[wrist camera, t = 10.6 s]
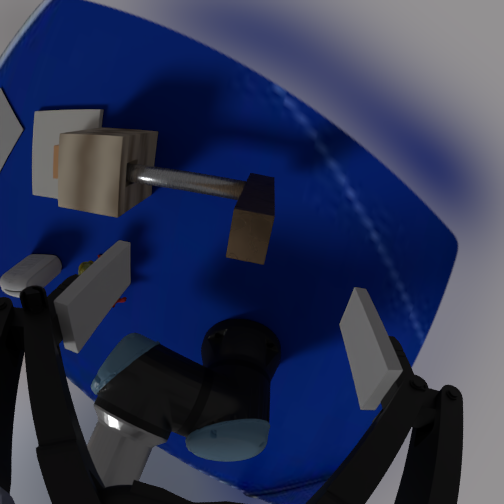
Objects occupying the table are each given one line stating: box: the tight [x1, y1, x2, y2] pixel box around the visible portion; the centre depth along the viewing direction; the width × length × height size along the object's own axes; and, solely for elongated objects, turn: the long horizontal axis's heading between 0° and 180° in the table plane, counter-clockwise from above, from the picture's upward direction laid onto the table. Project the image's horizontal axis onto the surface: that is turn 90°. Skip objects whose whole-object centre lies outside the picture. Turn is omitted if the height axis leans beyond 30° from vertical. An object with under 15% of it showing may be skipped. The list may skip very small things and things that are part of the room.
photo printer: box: [0, 254, 62, 297], centre depth 46 cm, size 10×4×12 cm, turn 91°
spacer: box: [53, 144, 59, 179], centre depth 39 cm, size 5×5×6 cm
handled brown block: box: [126, 163, 275, 265], centre depth 30 cm, size 26×4×16 cm, turn 79°
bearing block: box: [58, 128, 158, 218], centre depth 37 cm, size 10×10×11 cm
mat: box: [32, 109, 104, 199], centre depth 42 cm, size 16×16×1 cm
